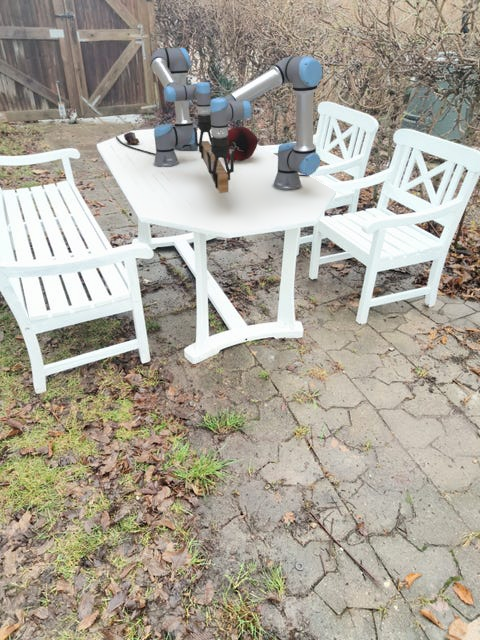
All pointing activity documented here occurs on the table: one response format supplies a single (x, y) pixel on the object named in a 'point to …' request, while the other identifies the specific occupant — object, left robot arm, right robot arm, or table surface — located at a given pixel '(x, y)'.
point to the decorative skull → (241, 143)
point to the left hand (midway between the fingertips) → (206, 157)
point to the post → (220, 171)
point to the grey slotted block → (187, 147)
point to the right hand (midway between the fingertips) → (221, 187)
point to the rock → (131, 138)
